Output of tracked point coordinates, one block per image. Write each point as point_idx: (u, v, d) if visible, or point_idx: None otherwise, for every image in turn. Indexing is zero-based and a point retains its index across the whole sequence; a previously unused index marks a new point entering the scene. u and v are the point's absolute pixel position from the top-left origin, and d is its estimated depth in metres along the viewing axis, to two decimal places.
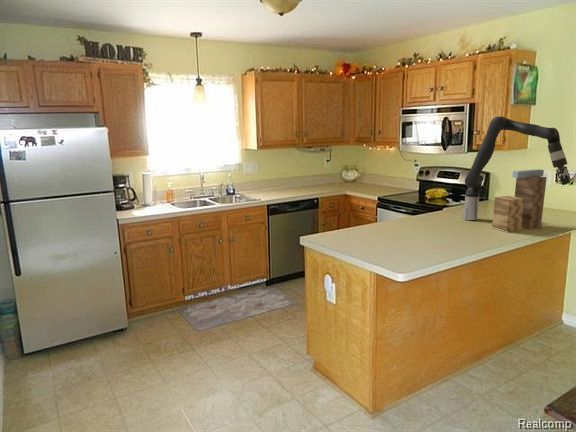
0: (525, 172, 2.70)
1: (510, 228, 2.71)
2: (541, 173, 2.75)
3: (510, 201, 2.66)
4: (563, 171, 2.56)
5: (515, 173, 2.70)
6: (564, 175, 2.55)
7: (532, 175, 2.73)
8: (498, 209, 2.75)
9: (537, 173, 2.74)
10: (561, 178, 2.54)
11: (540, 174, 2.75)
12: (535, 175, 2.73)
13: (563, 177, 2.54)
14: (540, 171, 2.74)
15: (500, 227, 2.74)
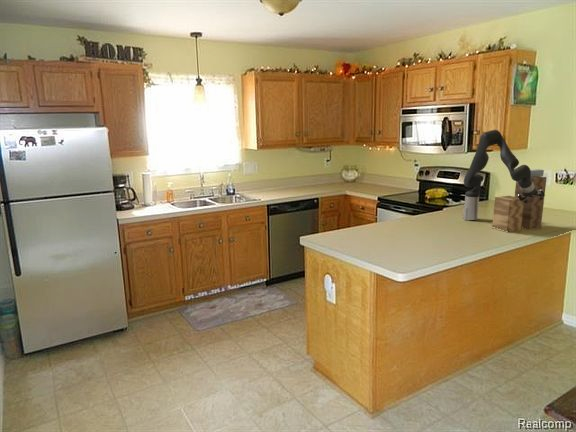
0: None
1: (510, 228, 2.71)
2: (541, 173, 2.75)
3: (510, 201, 2.66)
4: (526, 196, 2.62)
5: None
6: (526, 199, 2.64)
7: (532, 175, 2.73)
8: (498, 209, 2.75)
9: (537, 173, 2.74)
10: None
11: (540, 174, 2.75)
12: (535, 175, 2.73)
13: (523, 200, 2.66)
14: (540, 171, 2.74)
15: (500, 227, 2.74)
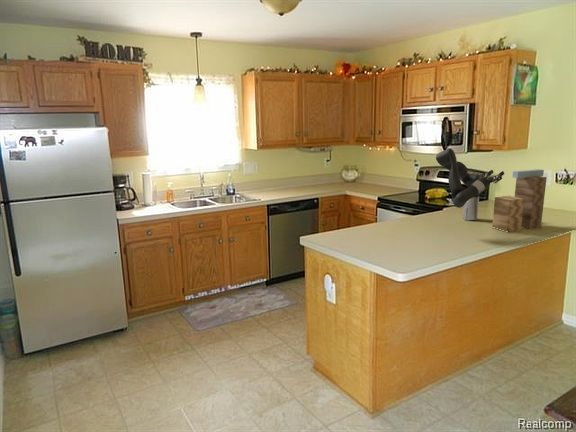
0: (525, 172, 2.70)
1: (510, 228, 2.71)
2: (541, 173, 2.75)
3: (510, 201, 2.66)
4: None
5: (515, 173, 2.70)
6: None
7: (532, 175, 2.73)
8: (498, 209, 2.75)
9: (537, 173, 2.74)
10: (486, 174, 2.69)
11: (540, 174, 2.75)
12: (535, 175, 2.73)
13: None
14: (540, 171, 2.74)
15: (500, 227, 2.74)
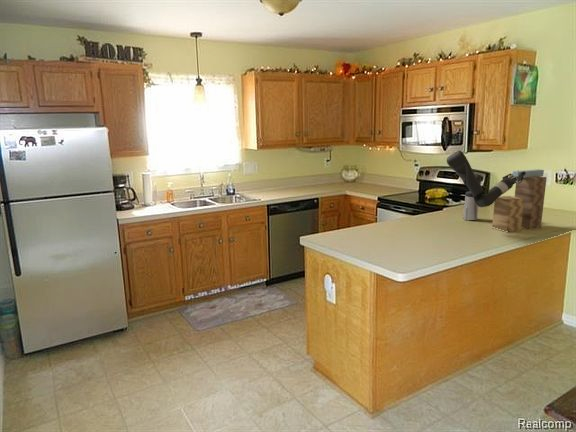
0: (525, 172, 2.70)
1: (510, 228, 2.71)
2: (541, 173, 2.75)
3: (510, 201, 2.66)
4: None
5: (515, 173, 2.70)
6: None
7: (532, 175, 2.73)
8: (498, 209, 2.75)
9: (537, 173, 2.74)
10: None
11: (540, 174, 2.75)
12: (535, 175, 2.73)
13: None
14: (540, 171, 2.74)
15: (500, 227, 2.74)
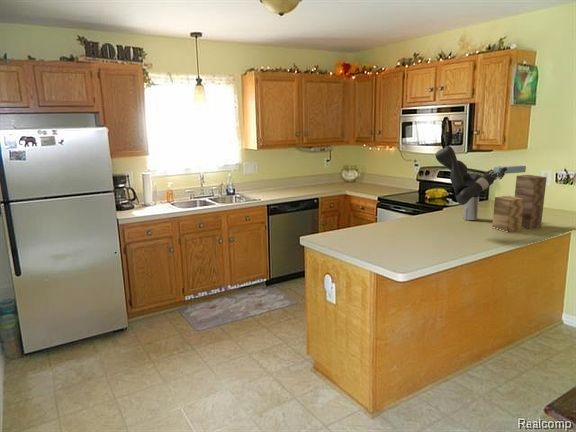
0: None
1: (510, 228, 2.71)
2: (523, 169, 2.69)
3: (510, 201, 2.66)
4: None
5: (496, 169, 2.64)
6: None
7: (514, 171, 2.67)
8: (498, 209, 2.75)
9: (518, 170, 2.68)
10: (493, 170, 2.69)
11: (522, 170, 2.69)
12: (517, 171, 2.67)
13: None
14: (522, 168, 2.68)
15: (500, 227, 2.74)
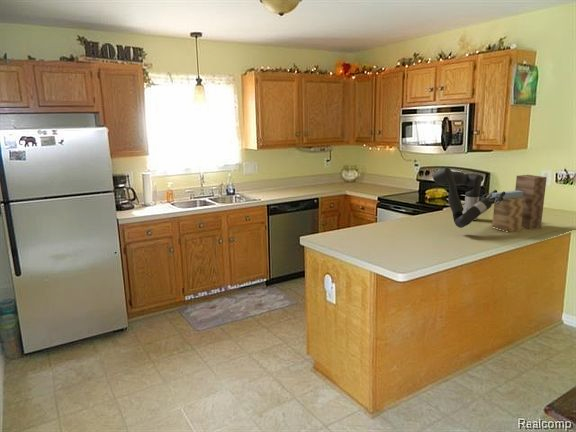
0: None
1: (510, 228, 2.71)
2: (520, 194, 2.72)
3: (510, 201, 2.66)
4: None
5: (494, 195, 2.68)
6: None
7: (511, 197, 2.70)
8: (498, 209, 2.75)
9: (516, 195, 2.71)
10: None
11: (519, 195, 2.72)
12: (514, 197, 2.71)
13: None
14: (519, 193, 2.72)
15: (500, 227, 2.74)
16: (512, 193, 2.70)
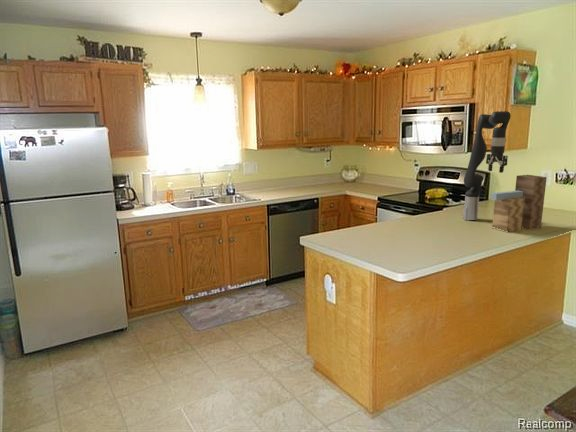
0: (504, 194, 2.68)
1: (510, 228, 2.71)
2: (520, 194, 2.72)
3: (510, 201, 2.66)
4: None
5: (494, 195, 2.68)
6: (490, 162, 2.59)
7: (511, 197, 2.70)
8: (498, 209, 2.75)
9: (516, 195, 2.71)
10: None
11: (519, 195, 2.72)
12: (514, 197, 2.71)
13: (488, 163, 2.61)
14: (519, 193, 2.72)
15: (500, 227, 2.74)
16: (512, 193, 2.70)
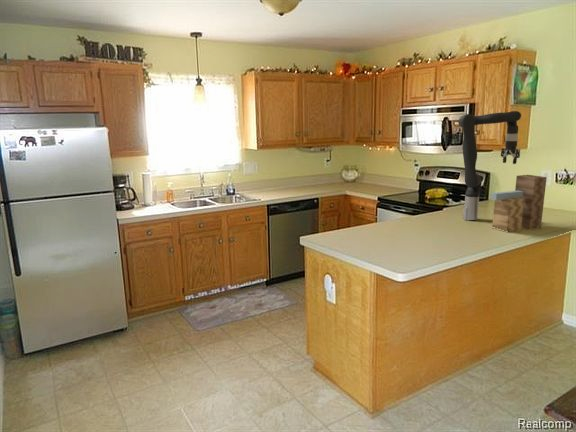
0: (504, 194, 2.68)
1: (510, 228, 2.71)
2: (520, 194, 2.72)
3: (510, 201, 2.66)
4: (505, 152, 2.98)
5: (494, 195, 2.68)
6: (504, 155, 2.99)
7: (511, 197, 2.70)
8: (498, 209, 2.75)
9: (516, 195, 2.71)
10: (503, 156, 3.02)
11: (519, 195, 2.72)
12: (514, 197, 2.71)
13: (502, 156, 3.01)
14: (519, 193, 2.72)
15: (500, 227, 2.74)
16: (512, 193, 2.70)
